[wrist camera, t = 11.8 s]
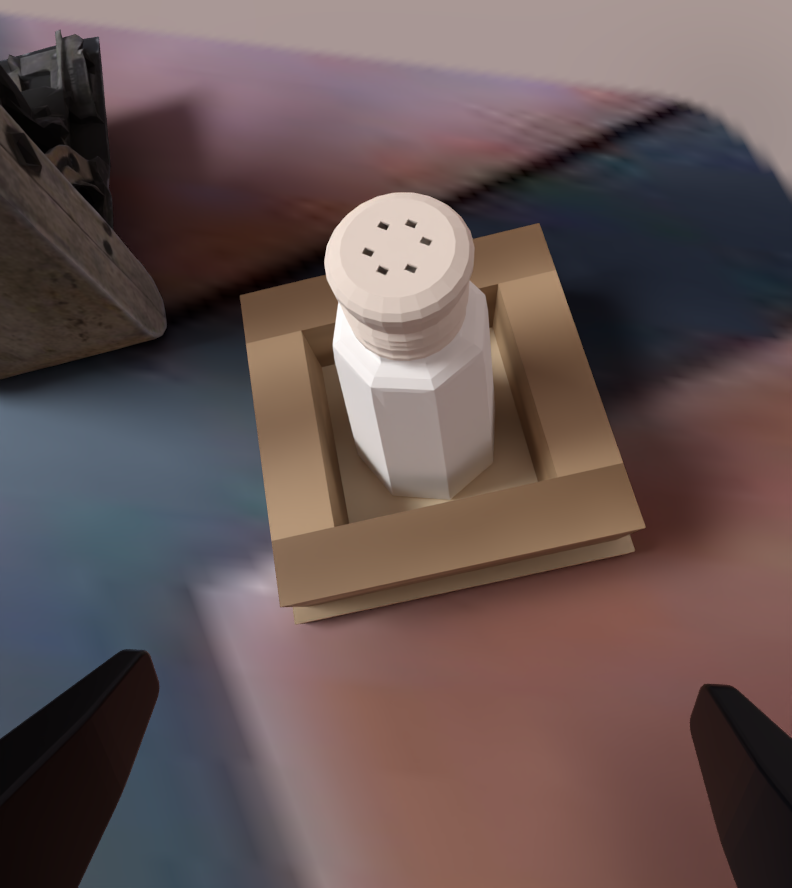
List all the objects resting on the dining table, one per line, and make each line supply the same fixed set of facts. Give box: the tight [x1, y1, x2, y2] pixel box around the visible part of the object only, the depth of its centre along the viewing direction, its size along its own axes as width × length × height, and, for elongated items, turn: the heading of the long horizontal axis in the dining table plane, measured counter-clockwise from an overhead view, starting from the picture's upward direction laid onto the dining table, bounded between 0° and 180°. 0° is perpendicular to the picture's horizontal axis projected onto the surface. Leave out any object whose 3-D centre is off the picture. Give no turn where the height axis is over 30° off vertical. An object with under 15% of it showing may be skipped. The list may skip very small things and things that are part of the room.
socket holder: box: [240, 223, 646, 624], centre depth 19 cm, size 12×12×4 cm
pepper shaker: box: [324, 193, 495, 500], centre depth 15 cm, size 5×5×11 cm
